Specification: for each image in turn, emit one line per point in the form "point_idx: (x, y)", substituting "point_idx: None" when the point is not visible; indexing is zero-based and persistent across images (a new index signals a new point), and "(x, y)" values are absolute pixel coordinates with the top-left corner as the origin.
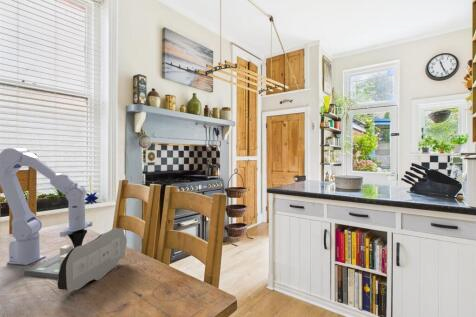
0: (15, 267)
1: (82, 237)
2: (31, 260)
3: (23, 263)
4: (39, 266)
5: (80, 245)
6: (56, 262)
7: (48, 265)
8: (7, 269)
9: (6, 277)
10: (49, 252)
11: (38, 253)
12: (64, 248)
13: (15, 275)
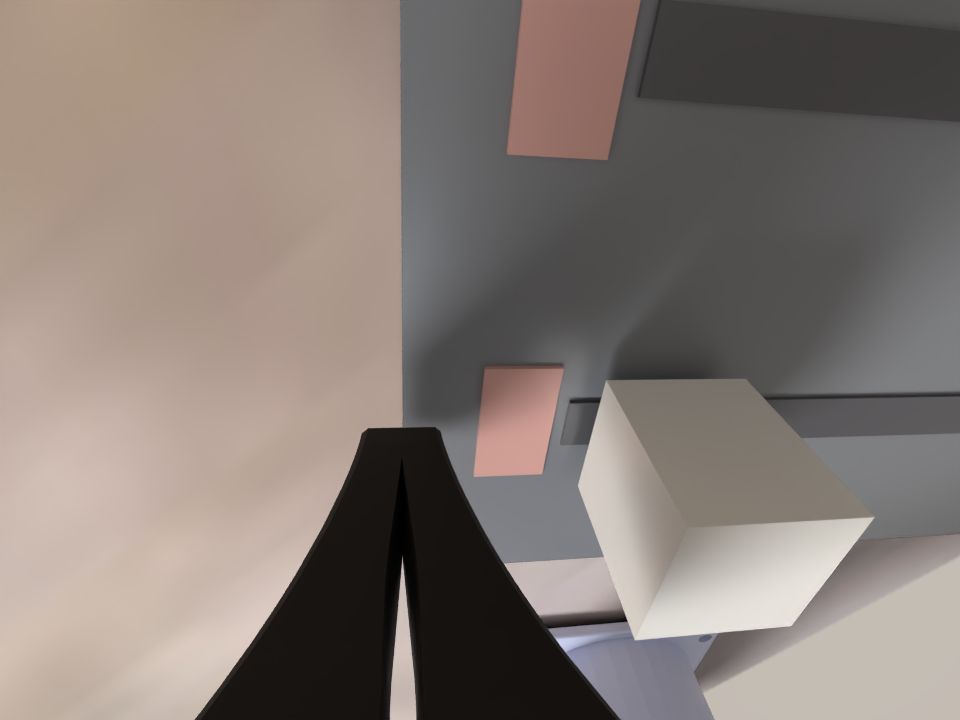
0: (738, 639)
1: (343, 676)
2: (660, 646)
3: (706, 647)
4: (927, 483)
5: (400, 470)
6: (862, 395)
7: (958, 411)
8: (766, 650)
9: (938, 561)
10: (400, 673)
11: (605, 699)
12: (844, 548)
13: (922, 538)
